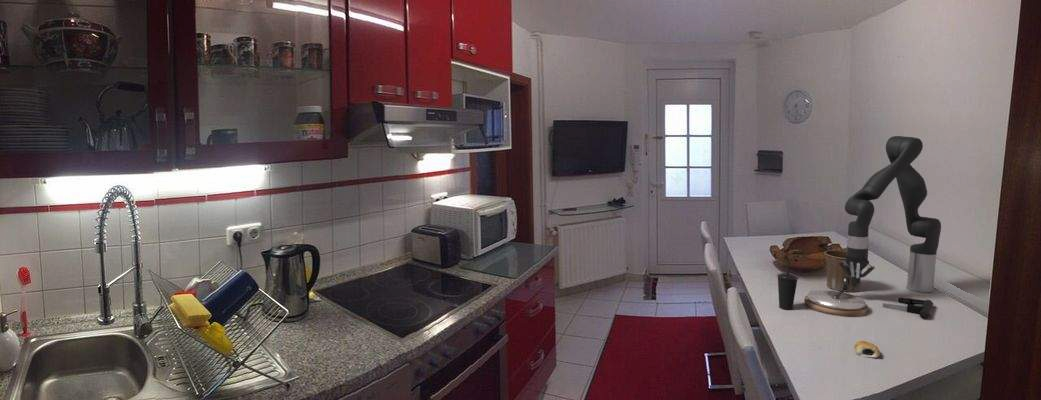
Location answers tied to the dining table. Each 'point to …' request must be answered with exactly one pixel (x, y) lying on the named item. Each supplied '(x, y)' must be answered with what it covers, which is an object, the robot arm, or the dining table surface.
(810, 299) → the dial
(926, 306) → the door handle
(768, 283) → the dining table surface
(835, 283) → the plant pot
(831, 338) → the dining table surface
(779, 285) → the drinking cup
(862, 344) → the pastry
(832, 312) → the dial base
